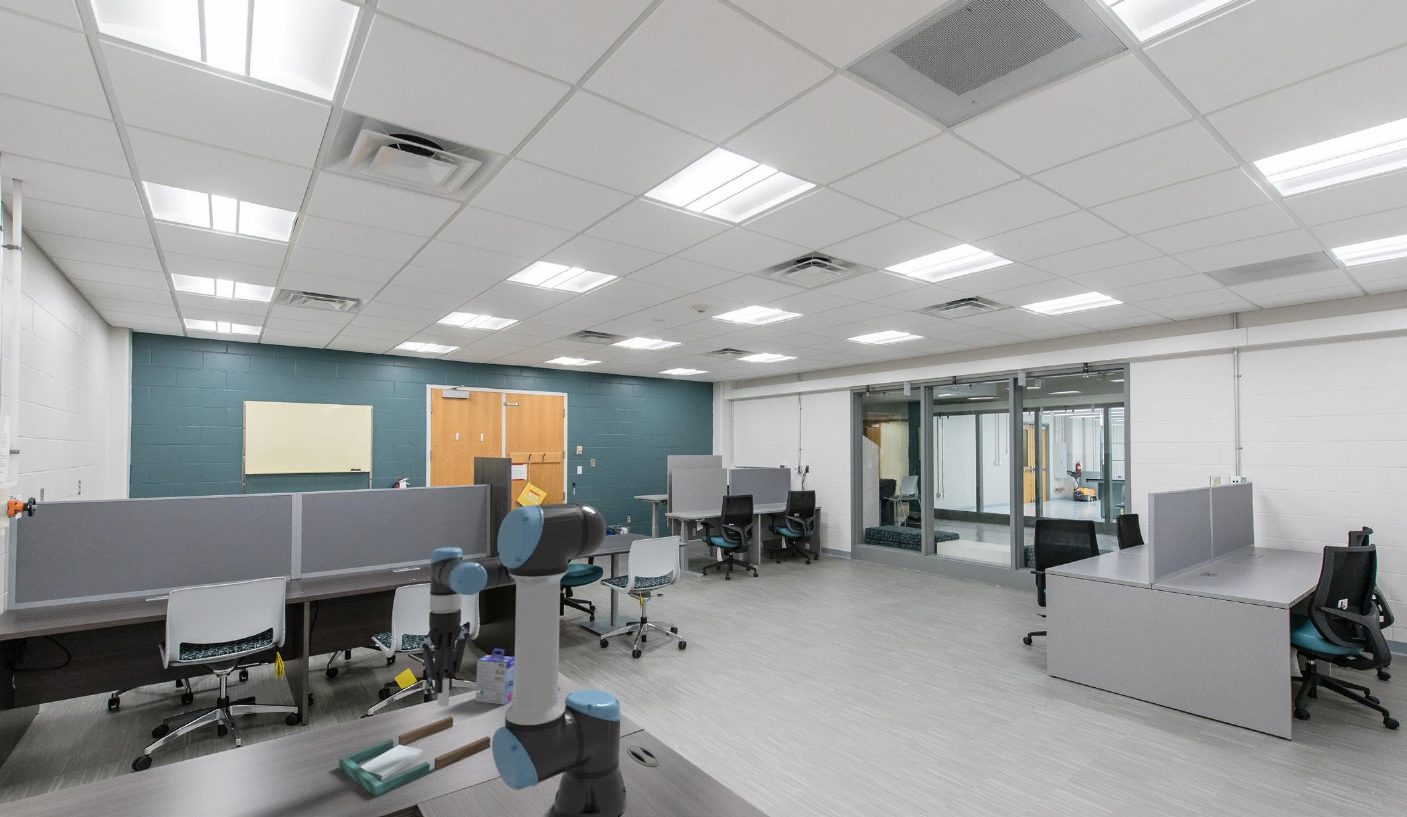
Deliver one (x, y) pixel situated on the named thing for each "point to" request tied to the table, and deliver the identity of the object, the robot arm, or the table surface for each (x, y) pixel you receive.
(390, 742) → the chute
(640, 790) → the table surface
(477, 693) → the ink cartridge box
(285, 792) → the table surface
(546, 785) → the table surface
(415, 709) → the table surface
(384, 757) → the hard drive
